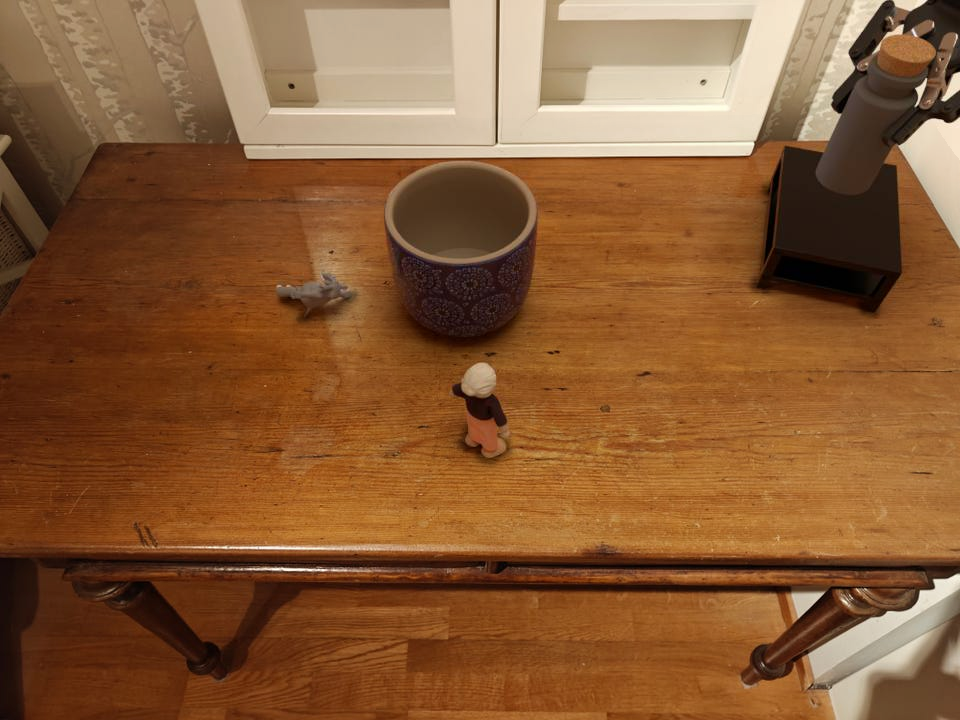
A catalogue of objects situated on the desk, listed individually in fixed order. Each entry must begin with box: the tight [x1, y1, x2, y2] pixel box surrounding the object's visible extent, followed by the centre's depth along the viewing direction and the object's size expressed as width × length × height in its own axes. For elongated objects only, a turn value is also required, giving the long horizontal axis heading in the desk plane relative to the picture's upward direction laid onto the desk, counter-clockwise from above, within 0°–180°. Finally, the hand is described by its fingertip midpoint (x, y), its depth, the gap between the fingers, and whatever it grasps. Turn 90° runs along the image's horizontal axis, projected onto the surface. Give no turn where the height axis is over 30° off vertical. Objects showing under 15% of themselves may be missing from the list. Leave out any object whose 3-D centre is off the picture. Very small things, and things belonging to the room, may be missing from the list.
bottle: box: [816, 33, 936, 195], centre depth 70 cm, size 6×6×15 cm
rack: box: [755, 145, 903, 314], centre depth 89 cm, size 14×20×7 cm
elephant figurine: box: [275, 269, 353, 319], centre depth 84 cm, size 10×6×9 cm
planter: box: [383, 160, 539, 338], centre depth 80 cm, size 16×17×15 cm
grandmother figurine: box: [449, 362, 511, 459], centre depth 69 cm, size 8×4×13 cm, turn 59°
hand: (860, 125), depth 70 cm, fingers closed on bottle, 6 cm apart
